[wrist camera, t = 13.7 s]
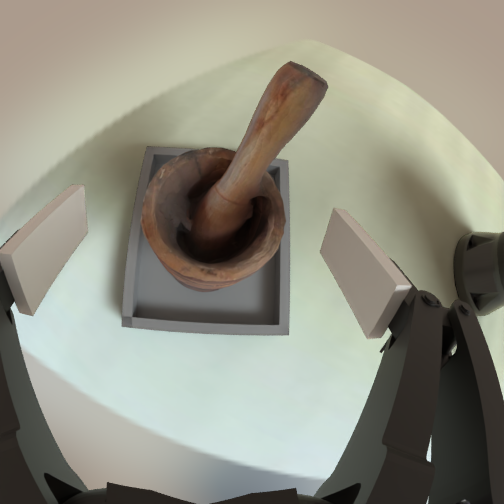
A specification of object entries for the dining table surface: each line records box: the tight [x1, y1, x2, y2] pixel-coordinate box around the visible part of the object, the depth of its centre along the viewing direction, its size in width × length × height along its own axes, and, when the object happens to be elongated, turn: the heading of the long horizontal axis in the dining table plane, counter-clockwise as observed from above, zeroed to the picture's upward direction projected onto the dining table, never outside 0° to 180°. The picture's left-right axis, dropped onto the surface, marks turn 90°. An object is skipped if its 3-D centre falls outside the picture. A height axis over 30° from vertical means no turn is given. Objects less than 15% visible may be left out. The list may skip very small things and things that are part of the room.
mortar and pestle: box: [140, 61, 328, 292], centre depth 19 cm, size 12×9×20 cm
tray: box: [122, 147, 290, 335], centre depth 28 cm, size 16×19×3 cm
